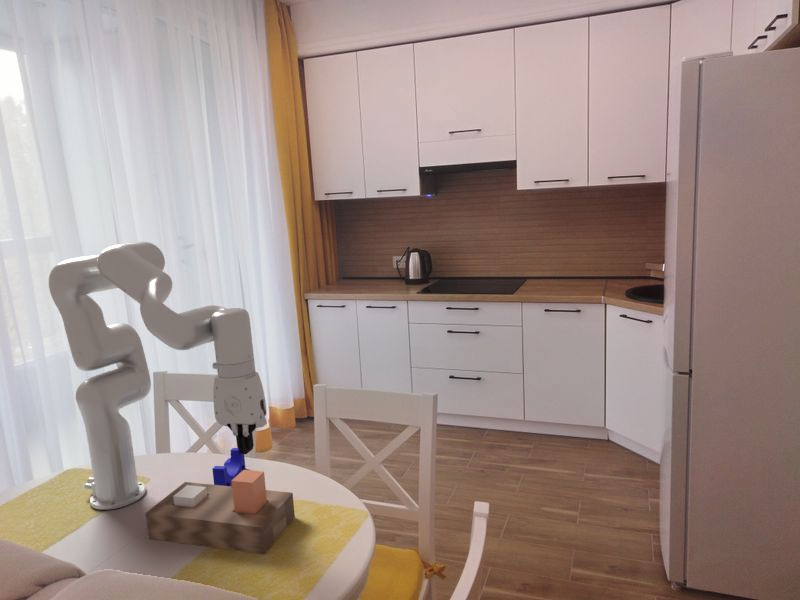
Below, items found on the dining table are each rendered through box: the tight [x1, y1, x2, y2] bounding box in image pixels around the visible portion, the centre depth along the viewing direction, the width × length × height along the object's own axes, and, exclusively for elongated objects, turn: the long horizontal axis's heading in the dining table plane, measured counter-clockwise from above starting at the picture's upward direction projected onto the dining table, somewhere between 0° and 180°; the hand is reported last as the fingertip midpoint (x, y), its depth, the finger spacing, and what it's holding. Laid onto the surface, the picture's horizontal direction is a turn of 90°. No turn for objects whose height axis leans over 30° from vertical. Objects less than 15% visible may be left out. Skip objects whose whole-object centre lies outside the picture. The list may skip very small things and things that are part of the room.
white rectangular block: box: [173, 485, 207, 508], centre depth 132 cm, size 5×5×8 cm
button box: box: [144, 481, 296, 555], centre depth 130 cm, size 28×14×6 cm, turn 74°
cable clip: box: [212, 447, 246, 487], centre depth 153 cm, size 12×4×6 cm, turn 171°
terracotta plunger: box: [231, 469, 267, 515], centre depth 127 cm, size 5×5×8 cm
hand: (246, 451), depth 125 cm, fingers closed
